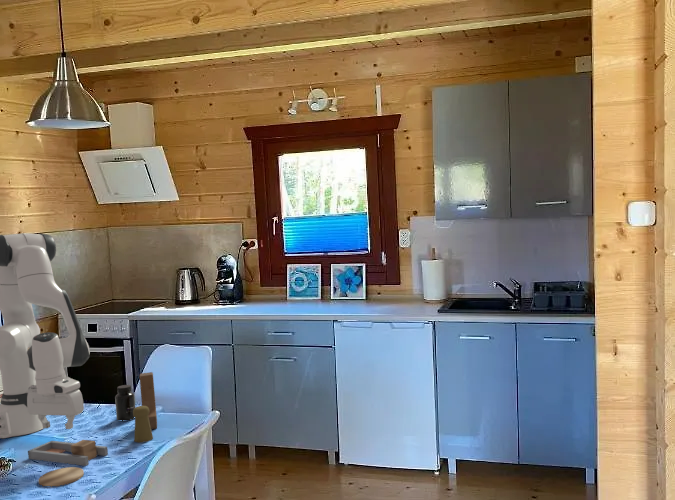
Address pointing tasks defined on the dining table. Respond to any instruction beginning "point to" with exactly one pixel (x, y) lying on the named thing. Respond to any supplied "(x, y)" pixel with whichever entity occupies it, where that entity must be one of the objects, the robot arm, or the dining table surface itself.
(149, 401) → the wooden block
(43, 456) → the channel
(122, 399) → the supplement bottle
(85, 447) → the walnut block
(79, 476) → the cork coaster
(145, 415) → the pepper shaker
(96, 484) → the dining table surface
